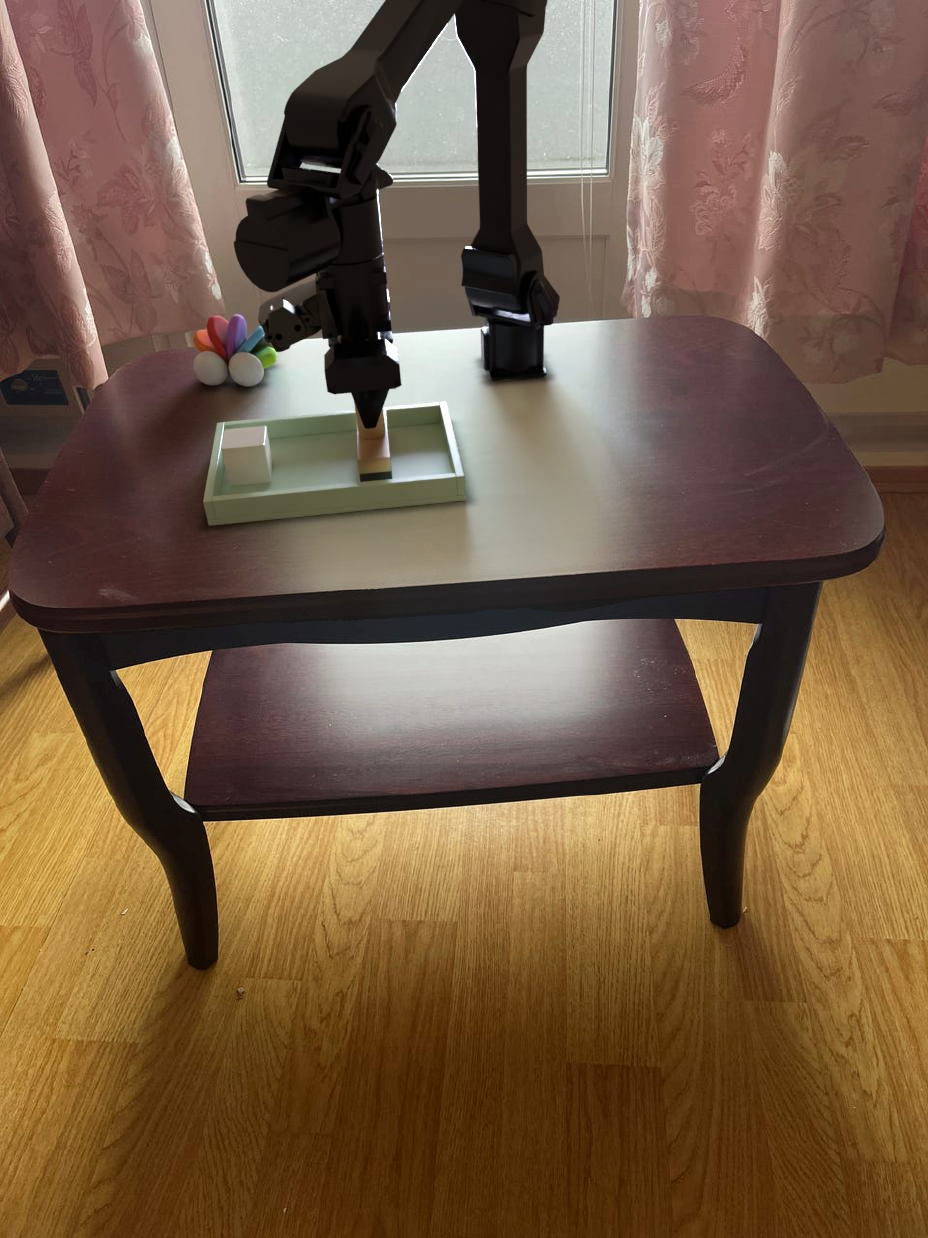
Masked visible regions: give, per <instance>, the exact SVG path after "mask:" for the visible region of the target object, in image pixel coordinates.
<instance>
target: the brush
mask: <svg viewBox="0 0 928 1238" xmlns="http://www.w3.org/2000/svg"><path fill="white" fill-rule="evenodd" d="M353 404H354V410H355V412H356V429H357V462H358V469H359V476H360V482H367V481H377V480H387V479H392V467H391V455H390V442H389V431H388V423H387V414H386V409H383V408H382V411H381V414H380V417H379V420H378V423H377V426H376V427H375V428H370V429H366V428H364V425H363V423H362V420H361V418H360V415H359V412H358V410H357V407H356V404H355V402H354V401H353Z"/></svg>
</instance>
